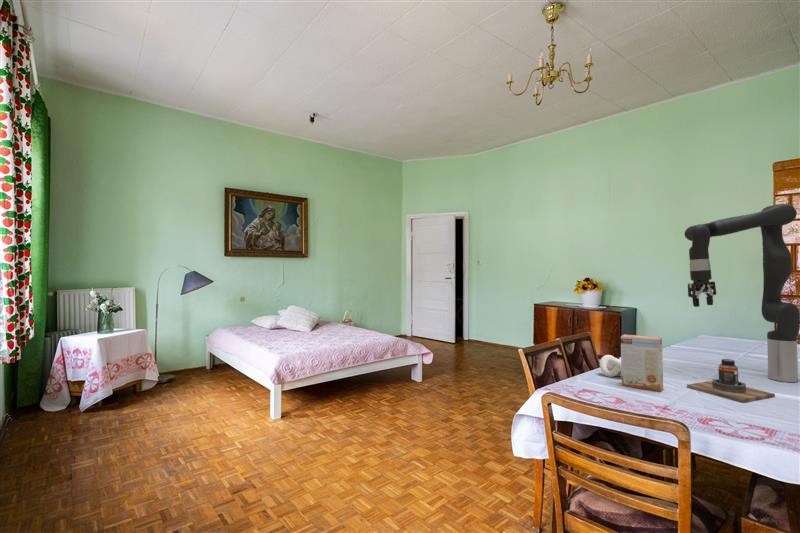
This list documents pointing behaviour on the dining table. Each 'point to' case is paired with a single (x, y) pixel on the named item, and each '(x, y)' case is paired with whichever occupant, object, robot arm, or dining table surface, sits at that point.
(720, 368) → the supplement bottle
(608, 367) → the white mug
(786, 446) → the dining table surface
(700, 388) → the collar plate
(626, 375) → the cracker box
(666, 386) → the dining table surface
